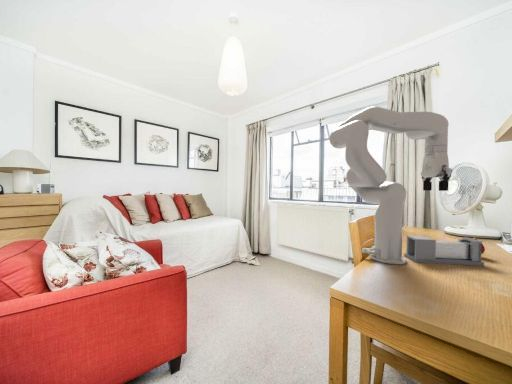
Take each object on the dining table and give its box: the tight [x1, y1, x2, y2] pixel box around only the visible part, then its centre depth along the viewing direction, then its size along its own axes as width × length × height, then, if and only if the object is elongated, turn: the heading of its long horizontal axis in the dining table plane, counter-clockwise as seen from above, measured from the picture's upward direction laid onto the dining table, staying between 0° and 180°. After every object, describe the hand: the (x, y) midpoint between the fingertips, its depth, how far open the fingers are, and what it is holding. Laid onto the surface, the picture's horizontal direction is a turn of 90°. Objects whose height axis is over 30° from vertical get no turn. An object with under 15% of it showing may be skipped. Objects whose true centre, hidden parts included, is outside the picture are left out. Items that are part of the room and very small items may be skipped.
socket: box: [458, 236, 483, 262], centre depth 85 cm, size 3×7×8 cm, turn 173°
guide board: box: [403, 235, 485, 266], centre depth 86 cm, size 24×8×9 cm, turn 83°
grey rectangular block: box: [435, 240, 470, 259], centre depth 86 cm, size 16×4×6 cm, turn 83°
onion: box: [472, 237, 486, 255], centre depth 92 cm, size 6×6×8 cm
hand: (434, 190), depth 92 cm, fingers open, 9 cm apart
